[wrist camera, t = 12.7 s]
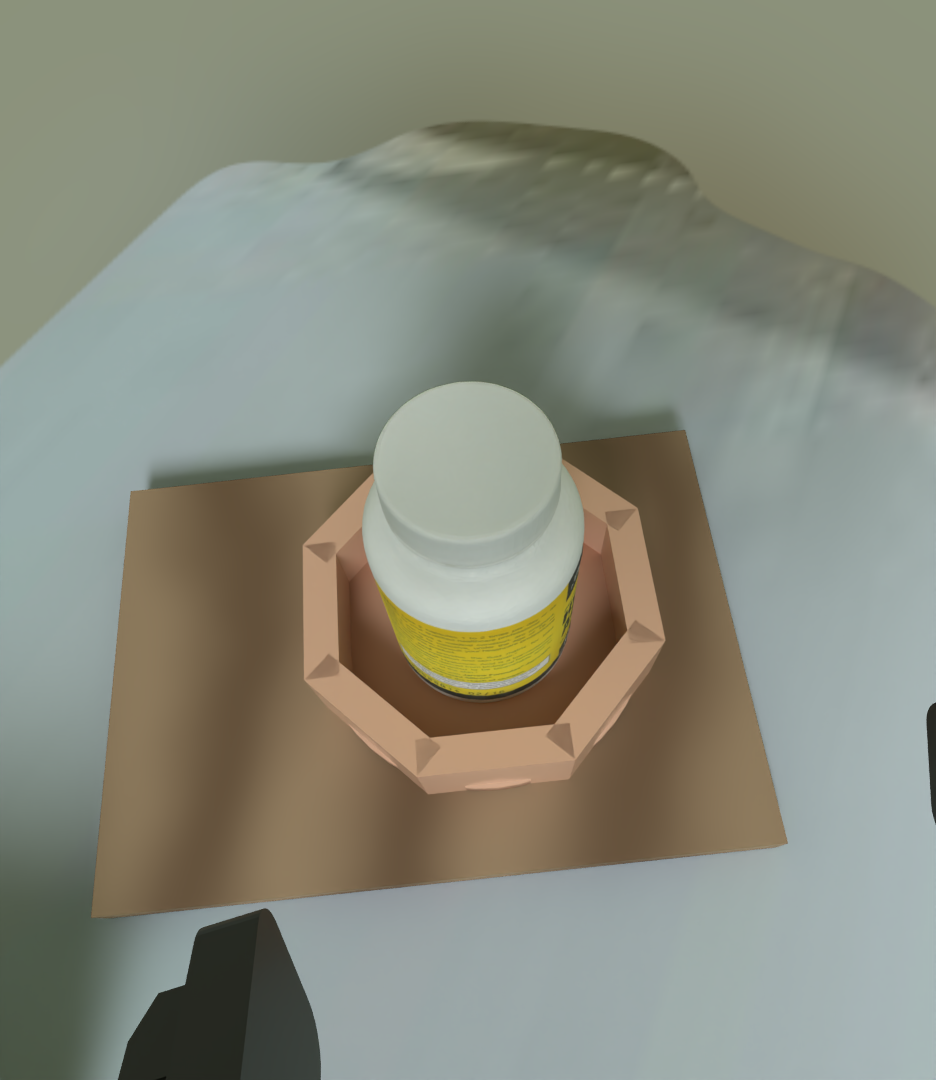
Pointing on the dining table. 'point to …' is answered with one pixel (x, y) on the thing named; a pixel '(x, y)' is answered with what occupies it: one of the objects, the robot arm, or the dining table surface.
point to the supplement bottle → (474, 539)
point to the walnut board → (347, 762)
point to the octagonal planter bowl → (496, 727)
